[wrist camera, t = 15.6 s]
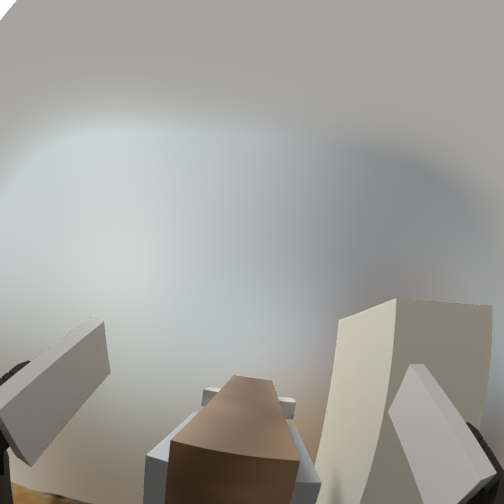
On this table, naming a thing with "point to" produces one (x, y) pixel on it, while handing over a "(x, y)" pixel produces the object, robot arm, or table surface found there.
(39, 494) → the table surface
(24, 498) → the table surface
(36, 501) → the table surface
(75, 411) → the robot arm
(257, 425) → the brown wooden beam
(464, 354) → the tall cream rectangular block
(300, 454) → the tall pale gray pillar
